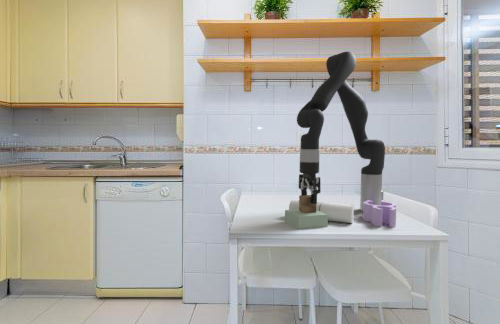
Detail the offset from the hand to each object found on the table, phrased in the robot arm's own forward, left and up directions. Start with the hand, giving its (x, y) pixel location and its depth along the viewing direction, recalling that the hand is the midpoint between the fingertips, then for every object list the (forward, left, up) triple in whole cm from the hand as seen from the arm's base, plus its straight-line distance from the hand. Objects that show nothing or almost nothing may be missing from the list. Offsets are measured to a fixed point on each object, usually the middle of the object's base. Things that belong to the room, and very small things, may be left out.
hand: (308, 202), depth 126 cm
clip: (-30, +5, -9) cm, 31 cm away
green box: (+2, +2, -9) cm, 9 cm away
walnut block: (+1, +1, -4) cm, 4 cm away
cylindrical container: (+3, -11, -4) cm, 12 cm away
